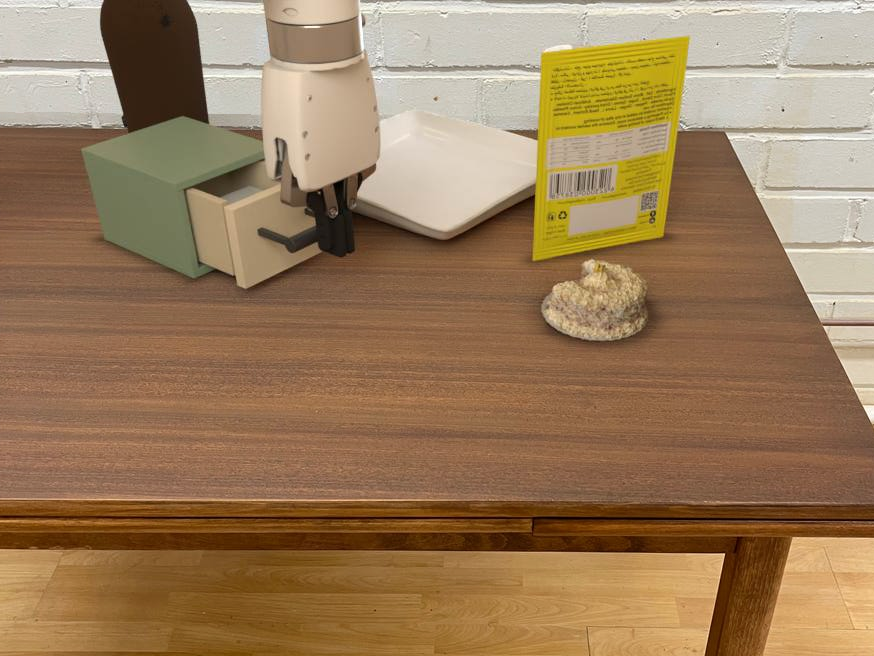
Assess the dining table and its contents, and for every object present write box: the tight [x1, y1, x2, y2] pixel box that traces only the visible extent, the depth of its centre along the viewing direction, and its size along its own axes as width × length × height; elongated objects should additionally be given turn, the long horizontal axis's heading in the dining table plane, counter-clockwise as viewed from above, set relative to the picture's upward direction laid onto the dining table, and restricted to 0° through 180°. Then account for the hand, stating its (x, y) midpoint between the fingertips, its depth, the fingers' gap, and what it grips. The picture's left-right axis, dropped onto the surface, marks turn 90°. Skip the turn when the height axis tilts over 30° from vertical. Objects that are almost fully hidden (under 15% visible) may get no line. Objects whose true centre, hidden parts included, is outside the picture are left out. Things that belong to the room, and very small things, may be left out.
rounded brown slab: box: [99, 0, 210, 134], centre depth 110 cm, size 11×11×25 cm
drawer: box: [183, 159, 323, 290], centre depth 93 cm, size 19×11×8 cm, turn 52°
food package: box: [532, 35, 691, 262], centre depth 93 cm, size 15×1×20 cm, turn 113°
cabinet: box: [80, 116, 265, 280], centre depth 98 cm, size 15×13×10 cm
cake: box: [540, 258, 650, 342], centre depth 87 cm, size 10×10×5 cm
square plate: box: [351, 108, 538, 241], centre depth 110 cm, size 27×27×4 cm
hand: (336, 250), depth 88 cm, fingers closed
